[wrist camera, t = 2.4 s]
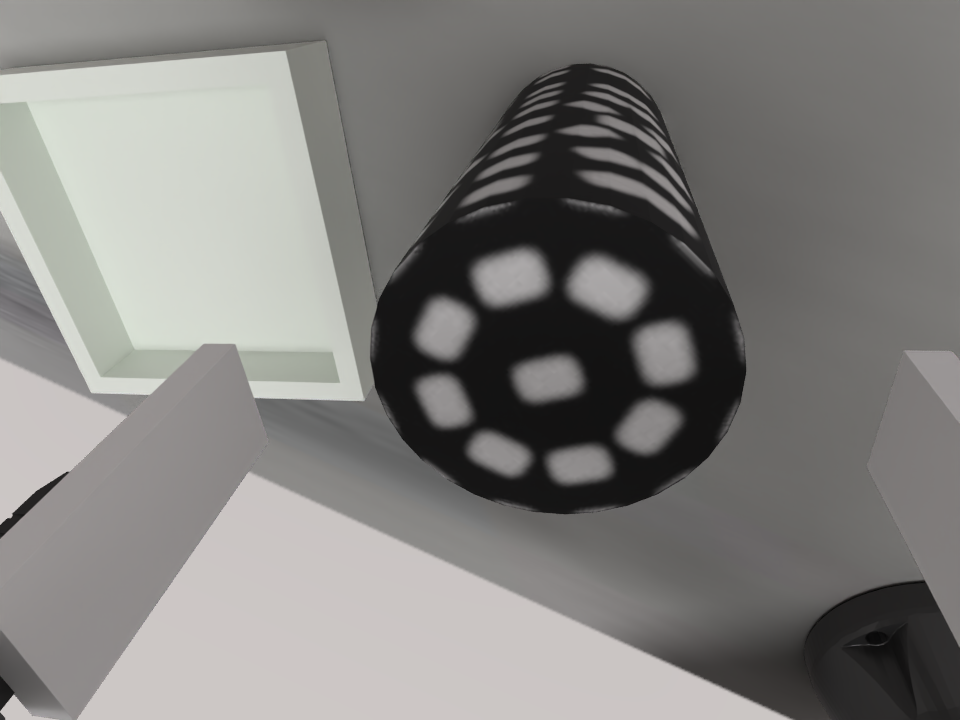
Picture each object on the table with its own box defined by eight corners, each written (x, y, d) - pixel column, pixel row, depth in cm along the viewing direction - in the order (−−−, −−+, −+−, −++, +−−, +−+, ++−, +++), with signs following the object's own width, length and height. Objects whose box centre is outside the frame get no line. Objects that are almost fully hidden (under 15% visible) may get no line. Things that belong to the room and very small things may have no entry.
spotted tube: (526, 254, 34) (449, 532, 17) (472, 100, 30) (306, 263, 13) (683, 210, 31) (772, 487, 14) (645, 34, 27) (705, 136, 11)
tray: (387, 359, 39) (364, 401, 35) (136, 355, 43) (91, 392, 39) (325, 40, 30) (285, 50, 26) (11, 67, 33) (-65, 80, 29)
